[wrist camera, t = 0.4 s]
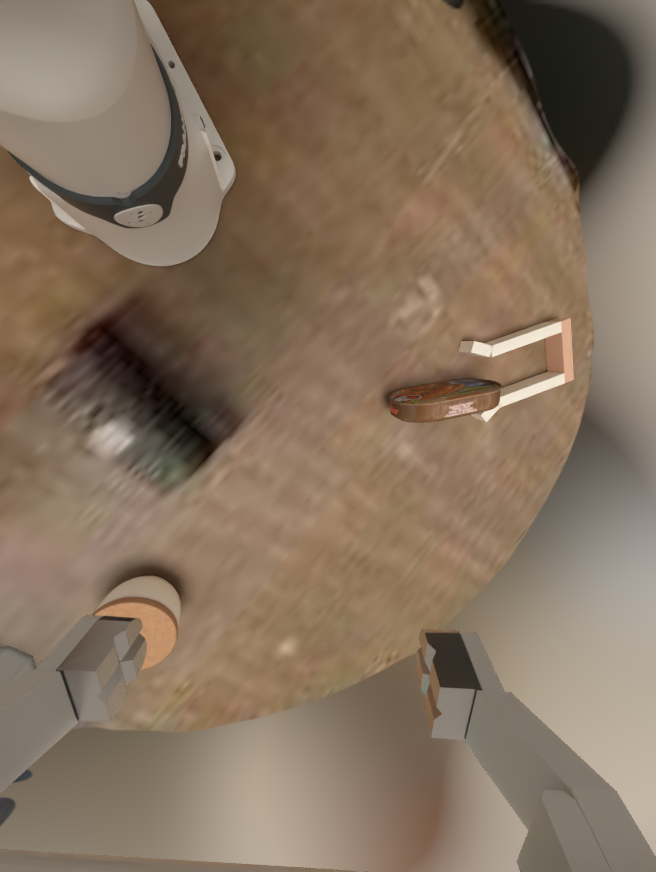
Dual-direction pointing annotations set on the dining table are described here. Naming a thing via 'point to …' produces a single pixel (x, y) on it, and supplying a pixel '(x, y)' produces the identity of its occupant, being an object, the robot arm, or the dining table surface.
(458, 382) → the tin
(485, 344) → the guide channel
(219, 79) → the dining table surface
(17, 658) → the coffee maker
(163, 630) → the lidded jar
